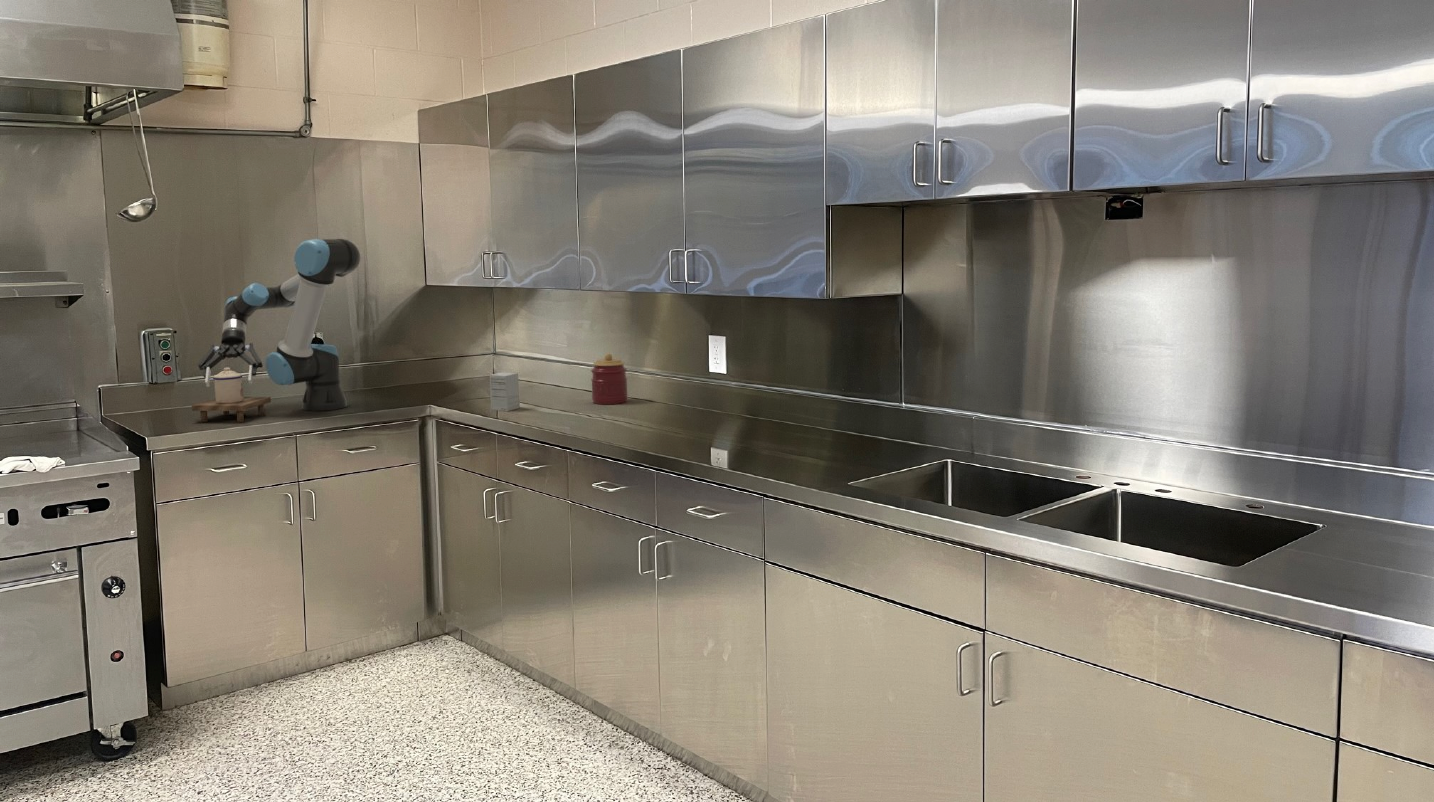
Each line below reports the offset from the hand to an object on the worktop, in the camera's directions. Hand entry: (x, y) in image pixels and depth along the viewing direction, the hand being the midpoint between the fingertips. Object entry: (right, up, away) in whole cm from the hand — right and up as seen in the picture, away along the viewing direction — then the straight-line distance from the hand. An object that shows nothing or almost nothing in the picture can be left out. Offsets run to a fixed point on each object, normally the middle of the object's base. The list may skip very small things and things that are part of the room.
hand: (228, 383), depth 361 cm
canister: (+127, -6, +25) cm, 130 cm away
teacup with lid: (-1, -6, +3) cm, 7 cm away
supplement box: (+91, -9, +13) cm, 93 cm away
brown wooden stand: (0, -12, +4) cm, 13 cm away
